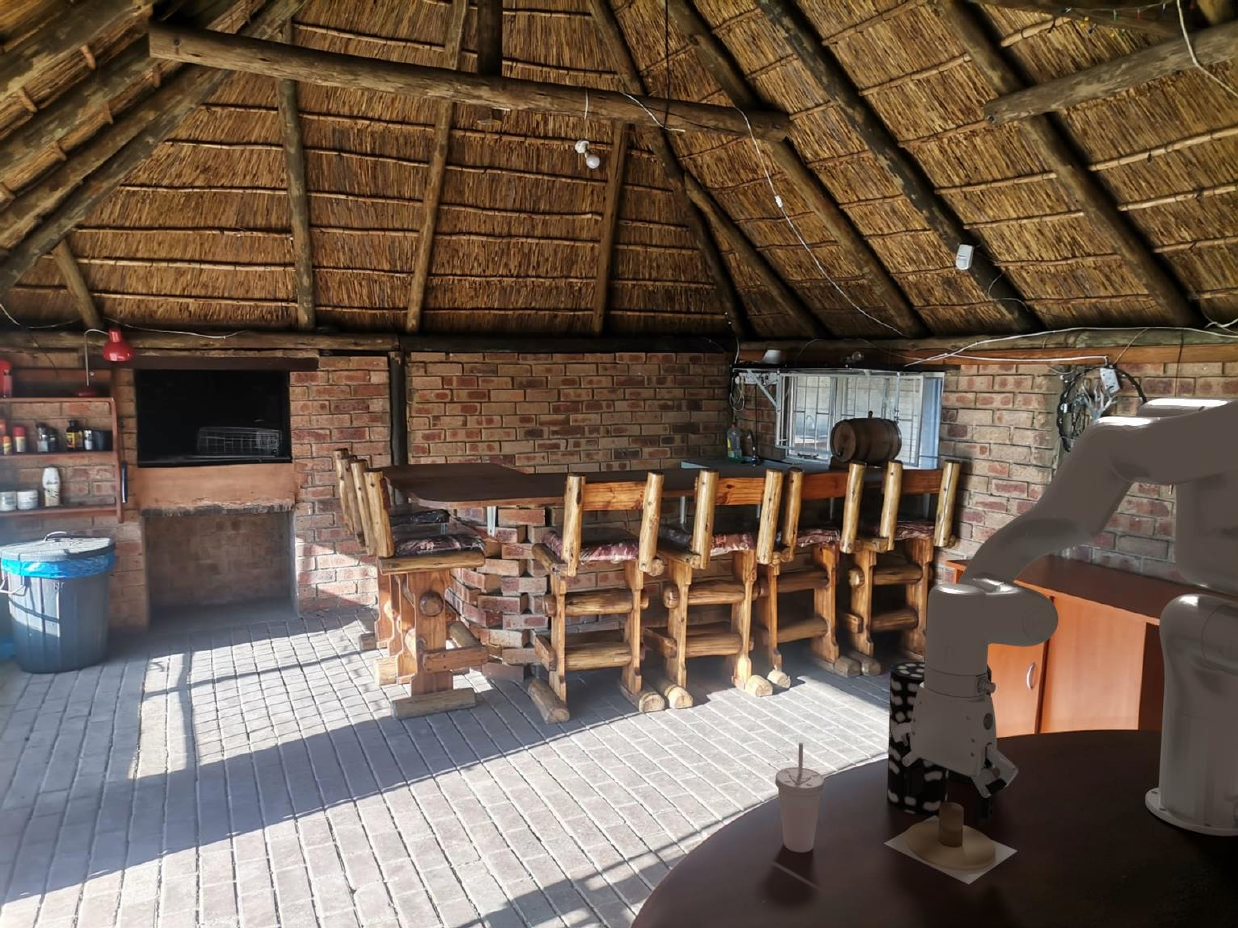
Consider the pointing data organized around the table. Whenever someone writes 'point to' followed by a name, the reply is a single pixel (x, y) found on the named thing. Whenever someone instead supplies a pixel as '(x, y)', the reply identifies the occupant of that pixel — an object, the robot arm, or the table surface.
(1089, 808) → the table surface
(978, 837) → the lid
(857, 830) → the table surface
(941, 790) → the spotted tube
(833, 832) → the table surface
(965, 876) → the mat
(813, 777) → the smoothie
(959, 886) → the table surface
